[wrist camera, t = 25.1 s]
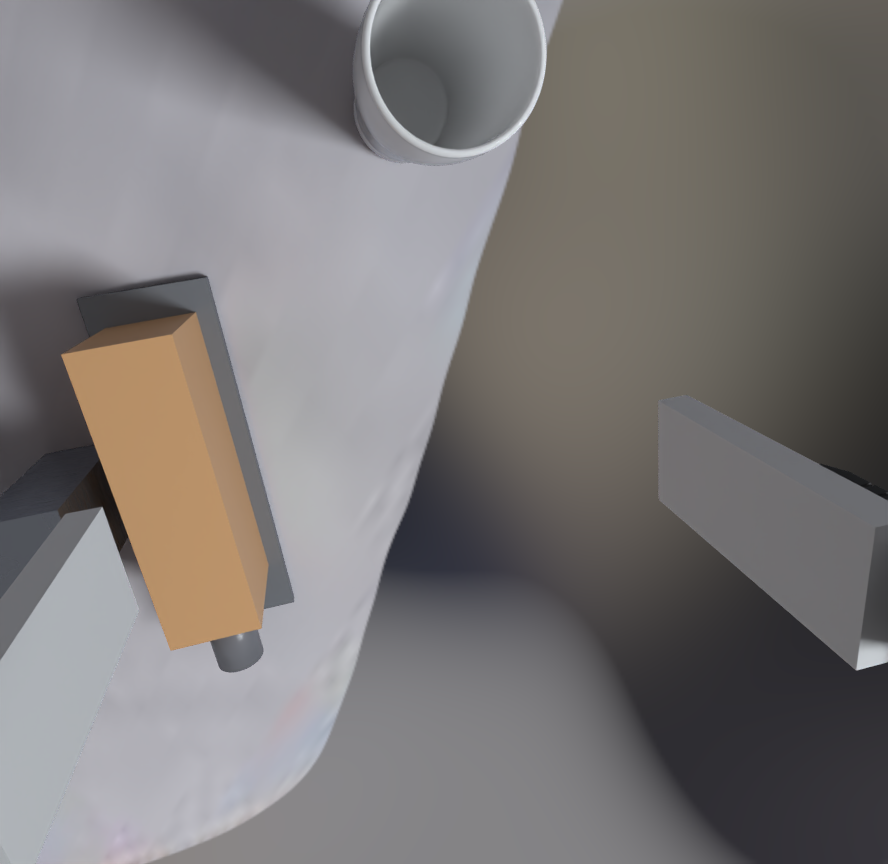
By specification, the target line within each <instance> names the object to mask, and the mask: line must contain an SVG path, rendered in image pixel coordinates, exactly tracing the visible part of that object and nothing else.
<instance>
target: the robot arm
mask: <svg viewBox="0 0 888 864" xmlns="http://www.w3.org/2000/svg"><path fill="white" fill-rule="evenodd" d="M658 427H659V428H658V429H659V430H658V434H659V435H658V440H659V443H658V447H659V448H658V450H659V500H660V501H661V502H662V503H664V504H665V505H666V506H667V507H668V508H669V509H670V510H671V511H673V512H674V513H675V514H676V515H677V516H678V517H680V518H681V519H682V520H683V521H684V522H685V523H687V524H688V525H689V526H690V527H691V528H692V529H693V530H695V531H696V532H697V533H698V534H699V535H700V536H702V537H703V538H704V539H705V540H706V541H707V542H708V543H710V544H711V545H712V546H713V547H714V548H715V549H717V550H718V551H719V552H720V553H721V554H722V555H724V556H725V557H726V558H727V559H728V560H729V561H730V562H732V563H733V564H734V565H735V566H736V567H737V568H739V569H740V570H741V571H742V572H743V573H744V574H746V575H747V576H748V577H749V578H750V579H751V580H752V581H754V582H755V583H756V584H757V585H758V586H759V587H760V588H762V589H763V590H764V591H765V592H766V593H768V594H769V595H770V596H771V597H772V598H773V599H774V600H775V601H777V602H778V603H779V604H780V605H781V606H782V607H784V608H785V609H786V610H787V611H788V612H789V613H791V614H792V615H793V616H794V617H795V618H796V619H797V620H799V621H800V622H801V623H802V624H803V625H804V626H805V627H807V628H808V629H809V630H810V631H811V632H812V633H814V634H815V635H816V636H817V637H818V638H819V639H820V640H822V641H823V642H824V643H825V644H826V645H827V646H829V647H830V648H831V649H832V650H833V651H835V652H836V653H837V654H838V655H839V656H840V657H841V658H843V659H844V660H845V661H846V662H847V663H848V664H850V665H851V666H852V667H853V668H854V669H855V670H859V669H863V668H867V667H871V666H875V665H878V664H882V663H886V662H888V491H886V490H884V489H882V488H880V487H878V486H876V485H874V486H872V485H871V483H870V482H868V481H866V480H864V479H862V478H860V477H858V476H857V475H855V474H853V473H851V472H848V471H845V470H841V469H838V468H834V467H830V466H827V465H823V464H817V463H815V462H814V461H812V460H810V459H808V458H806V457H804V456H802V455H800V454H798V453H796V452H794V451H793V450H791V449H789V448H787V447H785V446H783V445H781V444H779V443H777V442H775V441H773V440H772V439H770V438H768V437H766V436H764V435H762V434H760V433H758V432H756V431H754V430H752V429H751V428H749V427H747V426H745V425H743V424H741V423H739V422H737V421H735V420H734V419H732V418H730V417H728V416H726V415H724V414H722V413H720V412H718V411H716V410H714V409H712V408H711V407H709V406H707V405H705V404H703V403H701V402H699V401H697V400H695V399H693V398H691V397H689V396H688V395H684V396H679V397H674V398H669V399H663V400H659V401H658ZM138 612H139V608H138V605H137V602H136V600H135V597H134V594H133V591H132V588H131V586H130V583H129V580H128V577H127V574H126V572H125V569H124V566H123V563H122V560H121V558H120V555H119V552H118V549H117V546H116V544H115V541H114V538H113V535H112V533H111V530H110V527H109V524H108V521H107V519H106V516H105V513H104V510H103V507H98V508H93V509H88V510H83V511H77V512H72V513H67V514H65V515H64V516H63V518H62V519H61V520H60V522H59V523H58V524H57V525H56V527H55V528H54V529H53V531H52V532H51V533H50V535H49V536H48V537H47V539H46V540H45V541H44V542H43V544H42V545H41V546H40V548H39V549H38V550H37V552H36V553H35V554H34V556H33V557H32V558H31V560H30V561H29V562H28V563H27V565H26V566H25V567H24V569H23V570H22V571H21V573H20V574H19V575H18V577H17V578H16V579H15V580H14V582H13V583H12V584H11V586H10V587H9V588H8V590H7V591H6V592H5V594H4V595H3V596H2V597H1V599H0V864H36V863H37V860H38V858H39V855H40V853H41V850H42V848H43V845H44V843H45V841H46V838H47V836H48V833H49V831H50V828H51V826H52V823H53V821H54V818H55V816H56V814H57V811H58V809H59V806H60V804H61V801H62V799H63V796H64V794H65V792H66V789H67V787H68V784H69V782H70V779H71V777H72V774H73V772H74V769H75V767H76V765H77V762H78V760H79V757H80V755H81V752H82V750H83V747H84V745H85V742H86V740H87V738H88V735H89V733H90V730H91V728H92V725H93V723H94V720H95V718H96V715H97V713H98V711H99V708H100V706H101V703H102V701H103V698H104V696H105V693H106V691H107V688H108V686H109V684H110V681H111V679H112V676H113V674H114V671H115V669H116V666H117V664H118V662H119V659H120V657H121V654H122V652H123V649H124V647H125V644H126V642H127V639H128V637H129V635H130V632H131V630H132V627H133V625H134V622H135V620H136V617H137V615H138Z"/></svg>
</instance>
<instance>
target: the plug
mask: <svg viewBox="0 0 888 864" xmlns="http://www.w3.org/2000/svg"><path fill="white" fill-rule="evenodd" d="M61 356H62V358H63V361H64V364H65V367H66V369H67V372H68V375H69V377H70V380H71V383H72V385H73V388H74V391H75V394H76V396H77V399H78V402H79V404H80V407H81V410H82V412H83V415H84V418H85V421H86V423H87V426H88V429H89V431H90V434H91V437H92V439H93V442H94V445H95V448H96V450H97V453H98V456H99V458H100V461H101V464H102V466H103V469H104V472H105V475H106V477H107V480H108V483H109V485H110V488H111V491H112V493H113V496H114V499H115V502H116V504H117V507H118V510H119V512H120V515H121V518H122V520H123V523H124V526H125V529H126V531H127V534H128V537H129V539H130V542H131V545H132V547H133V550H134V553H135V556H136V558H137V561H138V564H139V566H140V569H141V572H142V574H143V577H144V580H145V583H146V585H147V588H148V591H149V593H150V596H151V599H152V601H153V604H154V607H155V610H156V612H157V615H158V618H159V620H160V623H161V626H162V629H163V631H164V634H165V637H166V639H167V642H168V645H169V647H170V650H171V651H172V650H176V649H180V648H184V647H188V646H192V645H196V644H200V643H204V642H208V641H210V642H211V645H212V648H213V651H214V654H215V657H216V659H217V662H218V665H219V668H220V669H221V670H222V671H225V672H238V671H242V670H244V669H247V668H249V667H251V666H252V665H254V664H255V663H256V662H257V661H258V660H259V659H260V658H261V656H262V654H263V646H262V643H261V639H260V636H259V633H258V630H257V629H261V628H262V619H263V611H264V602H265V593H266V584H267V575H268V566H269V565H268V561H267V558H266V554H265V551H264V547H263V544H262V540H261V537H260V533H259V530H258V526H257V523H256V519H255V516H254V512H253V509H252V506H251V502H250V499H249V495H248V492H247V488H246V485H245V481H244V478H243V474H242V471H241V467H240V464H239V460H238V457H237V453H236V450H235V446H234V443H233V439H232V436H231V432H230V429H229V426H228V422H227V419H226V415H225V412H224V408H223V405H222V401H221V398H220V394H219V391H218V387H217V384H216V380H215V377H214V373H213V370H212V366H211V363H210V359H209V356H208V352H207V349H206V346H205V342H204V339H203V335H202V332H201V328H200V325H199V321H198V318H197V314H196V312H193V313H188V314H182V315H177V316H171V317H166V318H160V319H154V320H149V321H143V322H138V323H132V324H126V325H121V326H115V327H110V328H105V329H103V330H101V331H100V332H98V333H96V334H95V335H93V336H91V337H90V338H88V339H86V340H85V341H83V342H81V343H80V344H78V345H76V346H75V347H73V348H71V349H70V350H68V351H66V352H64V353H63V354H61Z"/></svg>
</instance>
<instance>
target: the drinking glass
mask: <svg viewBox="0 0 888 864" xmlns="http://www.w3.org/2000/svg"><path fill="white" fill-rule="evenodd" d="M546 56H547V53H546V38H545V31H544V26H543V22H542V18H541V15H540V12H539V10H538V7H537V4H536V2H535V0H370V2H369V4H368V7H367V9H366V11H365V13H364V16H363V18H362V21H361V24H360V27H359V30H358V34H357V38H356V42H355V47H354V54H353V65H352V78H353V89H354V106H353V107H354V118H355V123H356V126H357V129H358V131H359V133H360V135H361V137H362V139H363V141H364V142H365V143H366V145H367V146H368V147H369V148H370V149H371V150H372V151H373V152H374V153H376V154H377V155H378V156H380V157H382V158H384V159H386V160H388V161H391V162H395V163H415V164H420V165H427V166H445V165H452V164H457V163H461V162H465V161H468V160H471V159H474V158H476V157H478V156H481V155H483V154H485V153H487V152H488V151H490V150H492V149H494V148H496V147H498V146H500V145H501V144H503V143H504V142H505V141H507V140H508V139H509V138H510V137H511V136H513V135H514V134H515V133H516V132H517V131H518V130H519V129H520V127H521V126H522V125H523V124H524V122H525V121H526V120H527V118H528V116H529V115H530V113H531V112H532V110H533V108H534V106H535V104H536V102H537V99H538V97H539V94H540V91H541V88H542V85H543V80H544V76H545V69H546Z"/></svg>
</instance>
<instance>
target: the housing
mask: <svg viewBox="0 0 888 864" xmlns="http://www.w3.org/2000/svg"><path fill="white" fill-rule="evenodd" d="M98 507H103V510H104V513H105V516H106V519H107V521H108V524H109V527H110V530H111V533H112V535H113V538H114V541H115V544H116V546H117V549H118V552H120V550H121V549H122V547H123V545H124V543H125V541H126V539H127V538H128V534H127V531H126V529H125V526H124V523H123V520H122V518H121V515H120V512H119V510H118V507H117V504H116V502H115V499H114V496H113V493H112V491H111V488H110V485H109V483H108V480H107V477H106V475H105V472H104V469H103V466H102V464H101V461H100V458H99V456H98V453H97V450H96V448H95V445H90V446H85V447H80V448H75V449H70V450H64V451H59V452H54V453H49V454H45V455H44V456H43V457H42V458H41V459H40V460H39V461H38V462H37V463H36V464H34V465H33V466H32V467H31V468H30V469H29V470H28V471H27V472H26V473H25V474H24V475H23V476H22V477H21V478H20V479H19V480H17V481H16V482H15V483H14V484H13V485H12V486H11V487H10V488H9V489H8V490H7V491H6V492H5V493H4V494H3V495H1V496H0V599H1V597H2V596H3V595H4V594H5V592H6V591H7V590H8V588H9V587H10V586H11V584H12V583H13V582H14V580H15V579H16V578H17V577H18V575H19V574H20V573H21V571H22V570H23V569H24V567H25V566H26V565H27V563H28V562H29V561H30V560H31V558H32V557H33V556H34V554H35V553H36V552H37V550H38V549H39V548H40V546H41V545H42V544H43V542H44V541H45V540H46V539H47V537H48V536H49V535H50V533H51V532H52V531H53V529H54V528H55V527H56V525H57V524H58V523H59V522H60V520H61V519H62V518H63V516H64V515H65V514H67V513H72V512H77V511H83V510H88V509H93V508H98Z"/></svg>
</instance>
